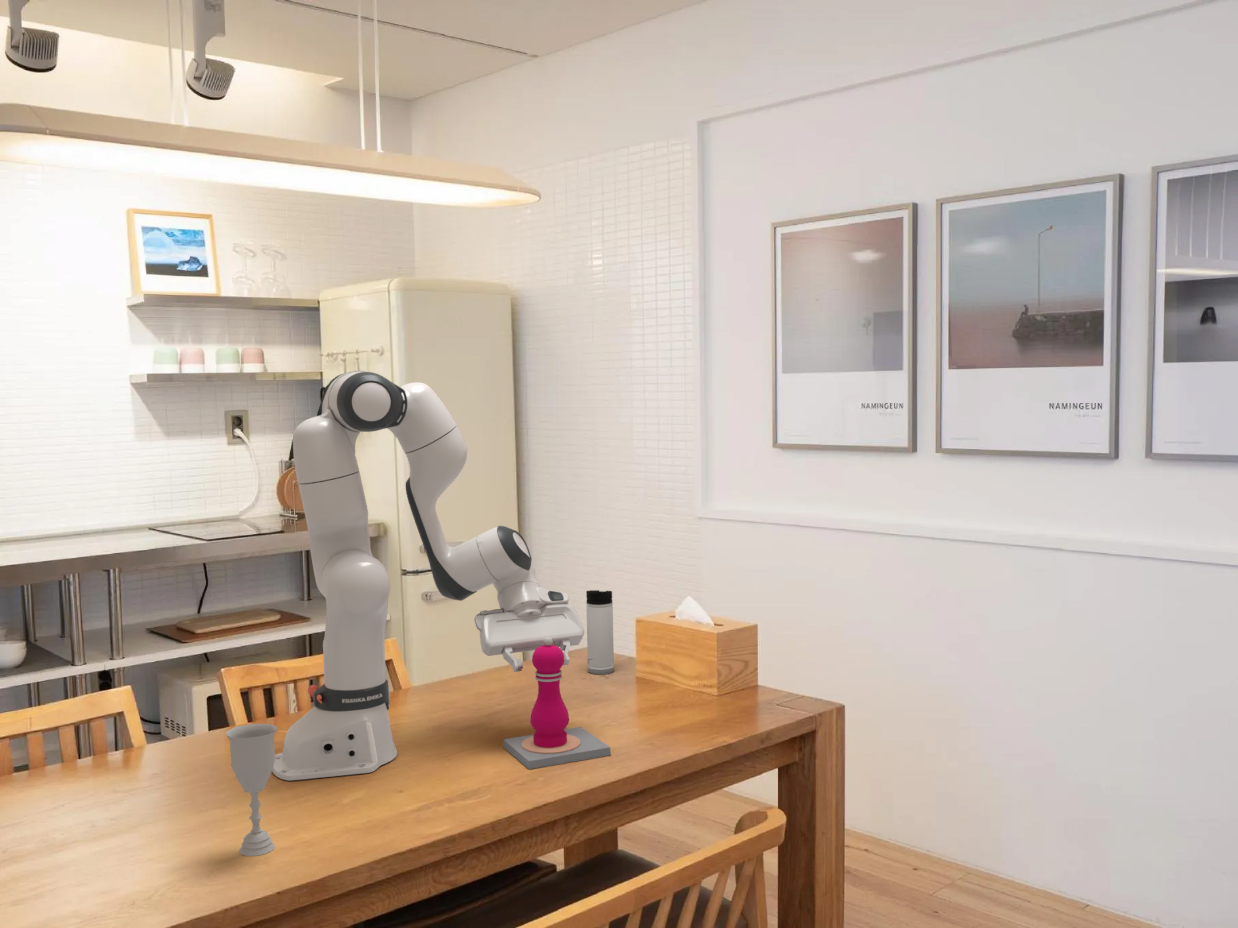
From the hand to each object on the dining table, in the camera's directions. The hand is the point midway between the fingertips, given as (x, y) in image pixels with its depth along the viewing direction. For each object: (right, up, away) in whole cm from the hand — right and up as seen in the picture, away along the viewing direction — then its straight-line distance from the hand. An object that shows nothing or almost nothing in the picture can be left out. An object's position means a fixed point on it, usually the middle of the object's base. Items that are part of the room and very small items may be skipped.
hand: (542, 666), depth 207 cm
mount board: (+3, -15, -2) cm, 16 cm away
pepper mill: (+2, -14, -2) cm, 14 cm away
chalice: (-40, -19, -43) cm, 62 cm away
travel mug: (+10, -12, +56) cm, 58 cm away
